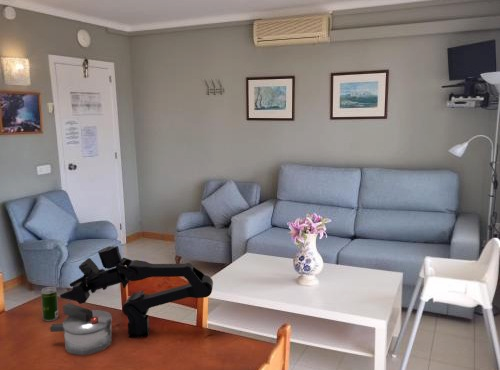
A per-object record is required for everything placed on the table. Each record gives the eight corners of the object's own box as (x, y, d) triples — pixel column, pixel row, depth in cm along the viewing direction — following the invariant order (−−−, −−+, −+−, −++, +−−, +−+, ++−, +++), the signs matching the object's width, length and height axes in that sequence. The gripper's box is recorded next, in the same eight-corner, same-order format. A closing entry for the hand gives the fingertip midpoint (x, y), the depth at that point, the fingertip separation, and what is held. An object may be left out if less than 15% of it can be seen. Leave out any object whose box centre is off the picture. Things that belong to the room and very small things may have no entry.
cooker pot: (116, 332, 158) (115, 313, 157) (105, 354, 143) (104, 334, 142) (60, 333, 157) (59, 315, 156) (44, 356, 142) (42, 335, 141)
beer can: (60, 315, 172) (58, 286, 170) (55, 321, 166) (53, 291, 164) (46, 315, 171) (44, 286, 169) (40, 322, 166) (38, 291, 164)
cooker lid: (121, 319, 152) (121, 308, 151) (83, 338, 139) (83, 326, 138) (85, 307, 161) (84, 296, 161) (46, 324, 148) (46, 312, 148)
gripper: (107, 248, 161) (66, 260, 162) (91, 267, 143) (45, 280, 143) (117, 275, 164) (77, 287, 164) (103, 297, 145) (58, 310, 146)
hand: (65, 290), depth 154 cm, fingers open, 9 cm apart
